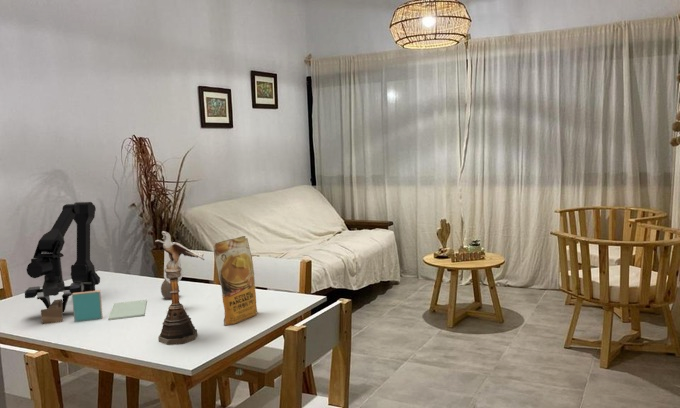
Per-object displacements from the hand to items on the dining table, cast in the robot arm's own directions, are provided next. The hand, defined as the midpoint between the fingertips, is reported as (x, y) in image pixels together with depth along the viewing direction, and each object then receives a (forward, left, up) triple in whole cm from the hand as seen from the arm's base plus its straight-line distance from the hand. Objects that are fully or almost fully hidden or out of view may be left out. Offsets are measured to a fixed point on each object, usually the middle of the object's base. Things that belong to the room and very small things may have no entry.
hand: (57, 312), depth 205 cm
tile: (+10, +12, -1) cm, 16 cm away
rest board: (+4, +25, -1) cm, 25 cm away
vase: (-7, +40, -1) cm, 41 cm away
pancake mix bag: (+31, +63, -1) cm, 70 cm away
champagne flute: (+11, +42, -1) cm, 43 cm away
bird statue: (+41, +44, -1) cm, 60 cm away
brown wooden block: (+3, 0, -1) cm, 3 cm away
